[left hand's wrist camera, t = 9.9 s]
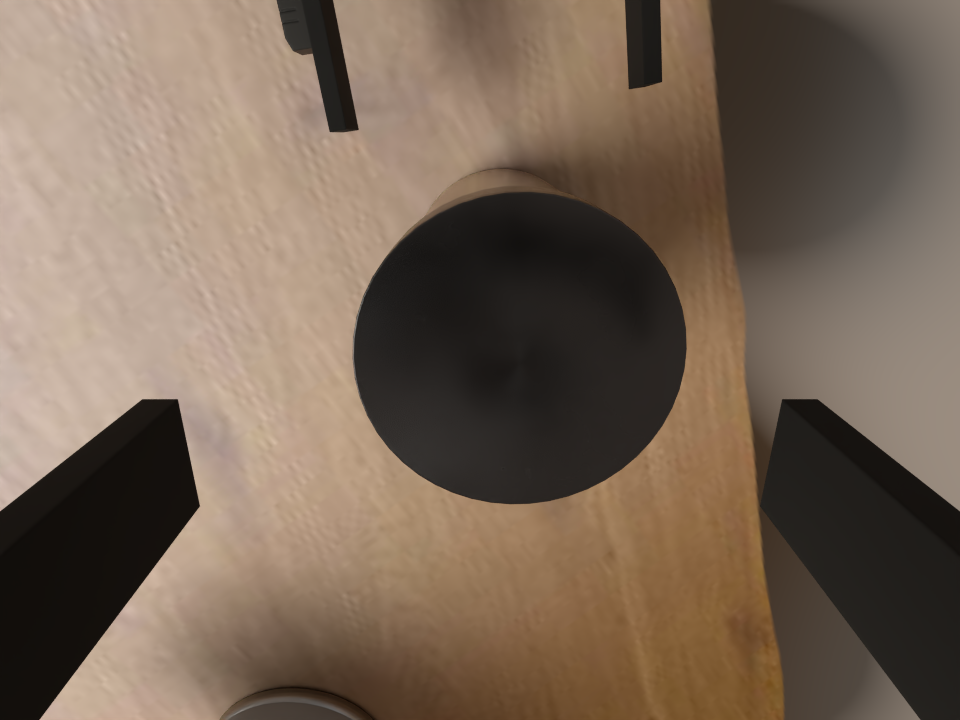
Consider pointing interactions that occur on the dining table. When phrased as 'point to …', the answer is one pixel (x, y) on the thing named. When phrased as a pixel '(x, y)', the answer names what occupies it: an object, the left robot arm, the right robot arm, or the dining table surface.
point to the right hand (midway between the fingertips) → (493, 109)
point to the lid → (519, 346)
